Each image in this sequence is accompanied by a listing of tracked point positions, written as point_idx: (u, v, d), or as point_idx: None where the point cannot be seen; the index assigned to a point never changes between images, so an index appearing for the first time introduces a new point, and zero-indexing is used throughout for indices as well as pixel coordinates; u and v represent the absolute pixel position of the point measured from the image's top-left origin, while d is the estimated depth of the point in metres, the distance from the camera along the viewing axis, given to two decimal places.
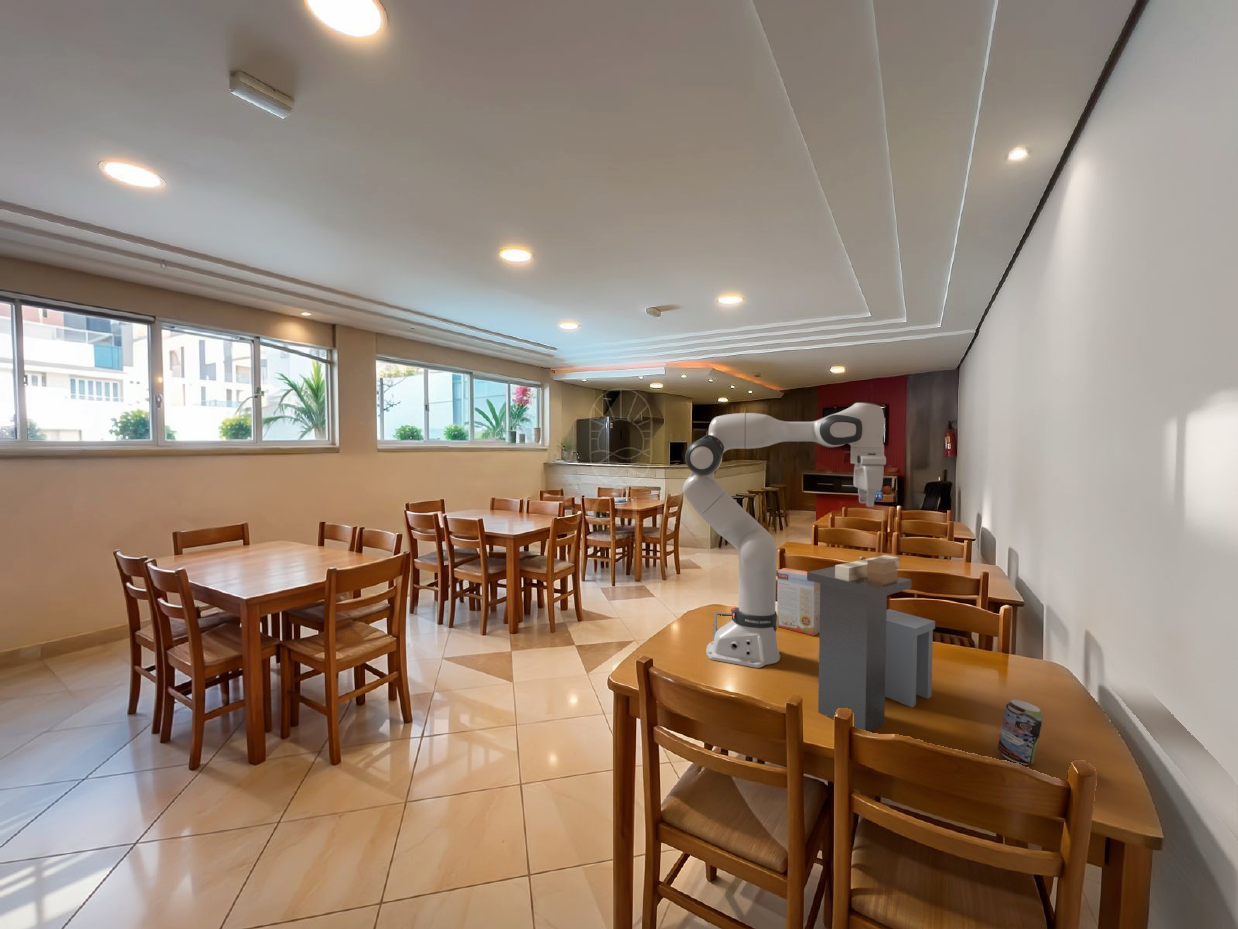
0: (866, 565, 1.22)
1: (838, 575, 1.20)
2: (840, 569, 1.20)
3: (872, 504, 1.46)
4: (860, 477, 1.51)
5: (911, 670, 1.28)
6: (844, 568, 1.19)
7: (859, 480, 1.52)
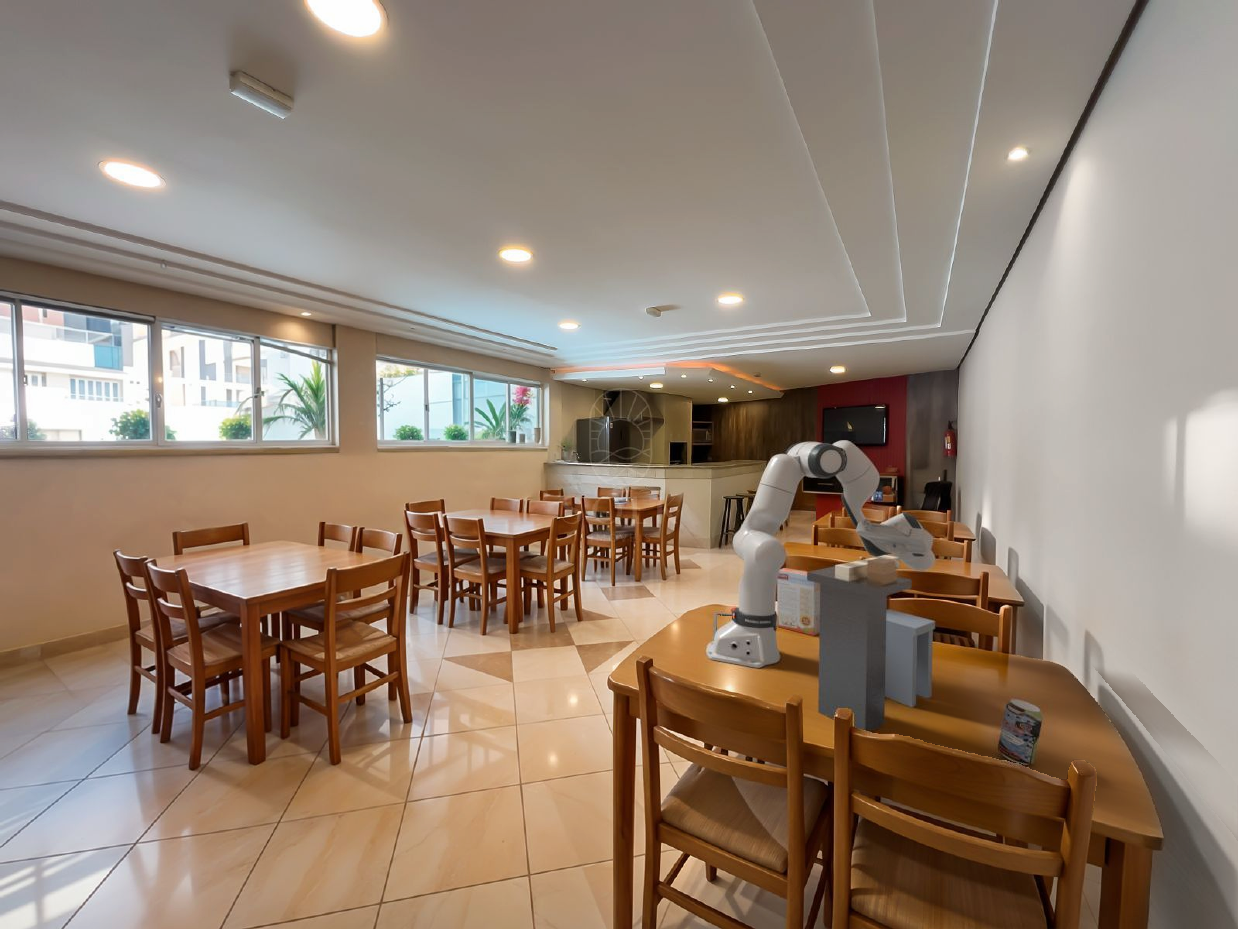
0: (866, 565, 1.22)
1: (838, 575, 1.20)
2: (840, 569, 1.20)
3: (899, 528, 1.45)
4: None
5: (911, 670, 1.28)
6: (844, 568, 1.19)
7: None
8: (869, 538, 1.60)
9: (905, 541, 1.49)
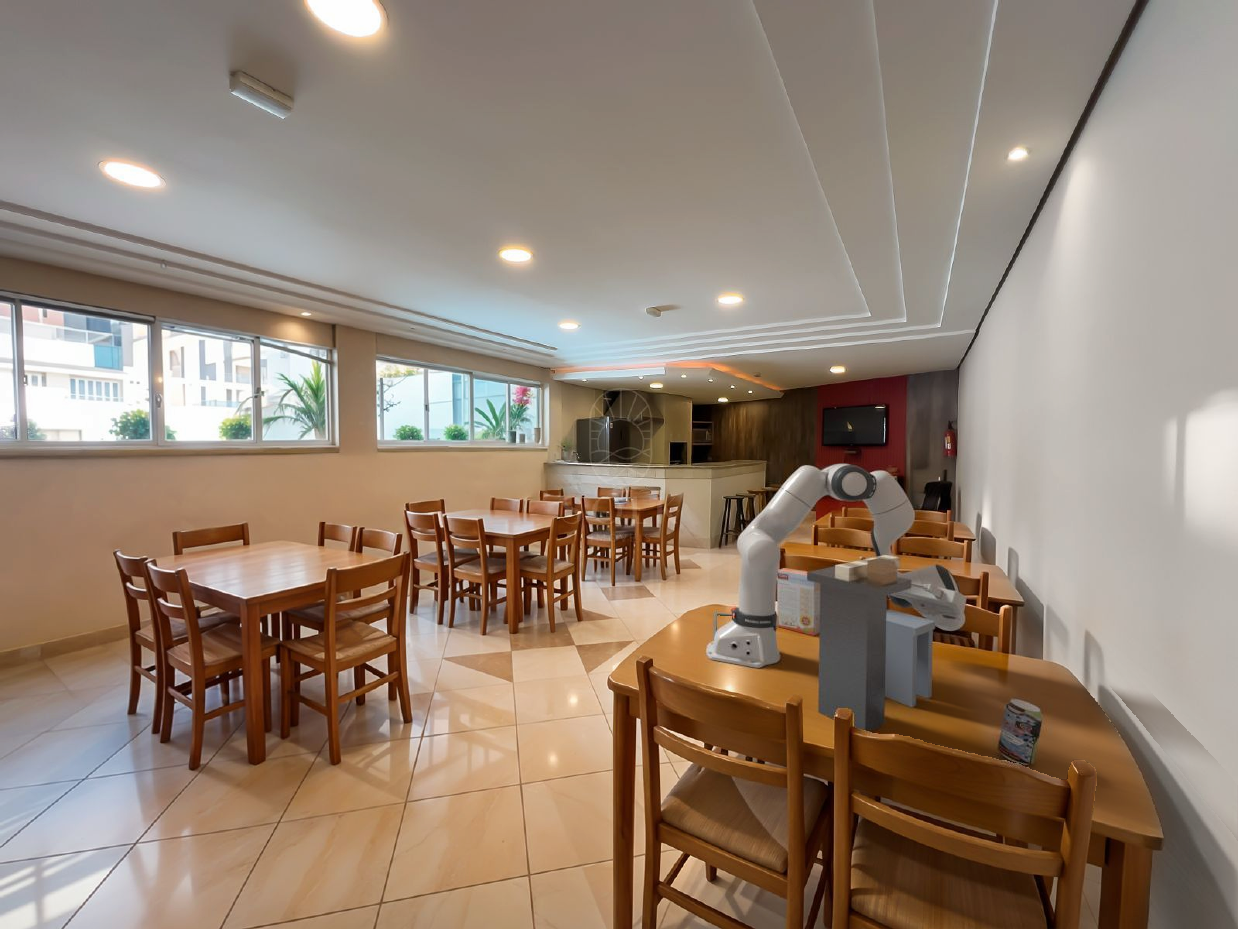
0: (866, 565, 1.22)
1: (838, 575, 1.20)
2: (840, 569, 1.20)
3: (930, 589, 1.32)
4: None
5: (911, 670, 1.28)
6: (844, 568, 1.19)
7: None
8: (894, 594, 1.47)
9: (935, 602, 1.36)
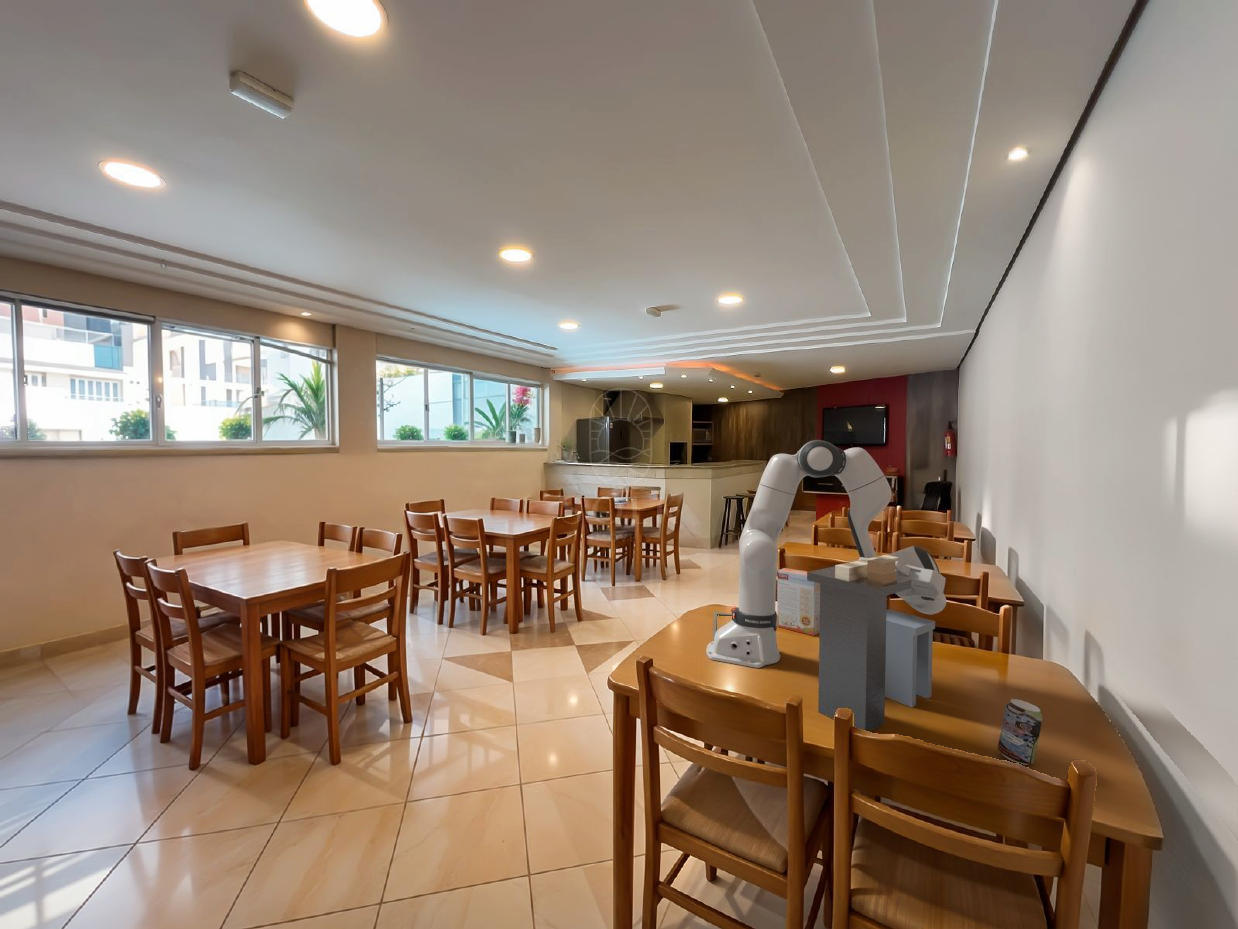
0: (866, 565, 1.22)
1: (838, 575, 1.20)
2: (840, 569, 1.20)
3: (897, 567, 1.27)
4: None
5: (911, 670, 1.28)
6: (844, 568, 1.19)
7: None
8: None
9: (913, 583, 1.29)
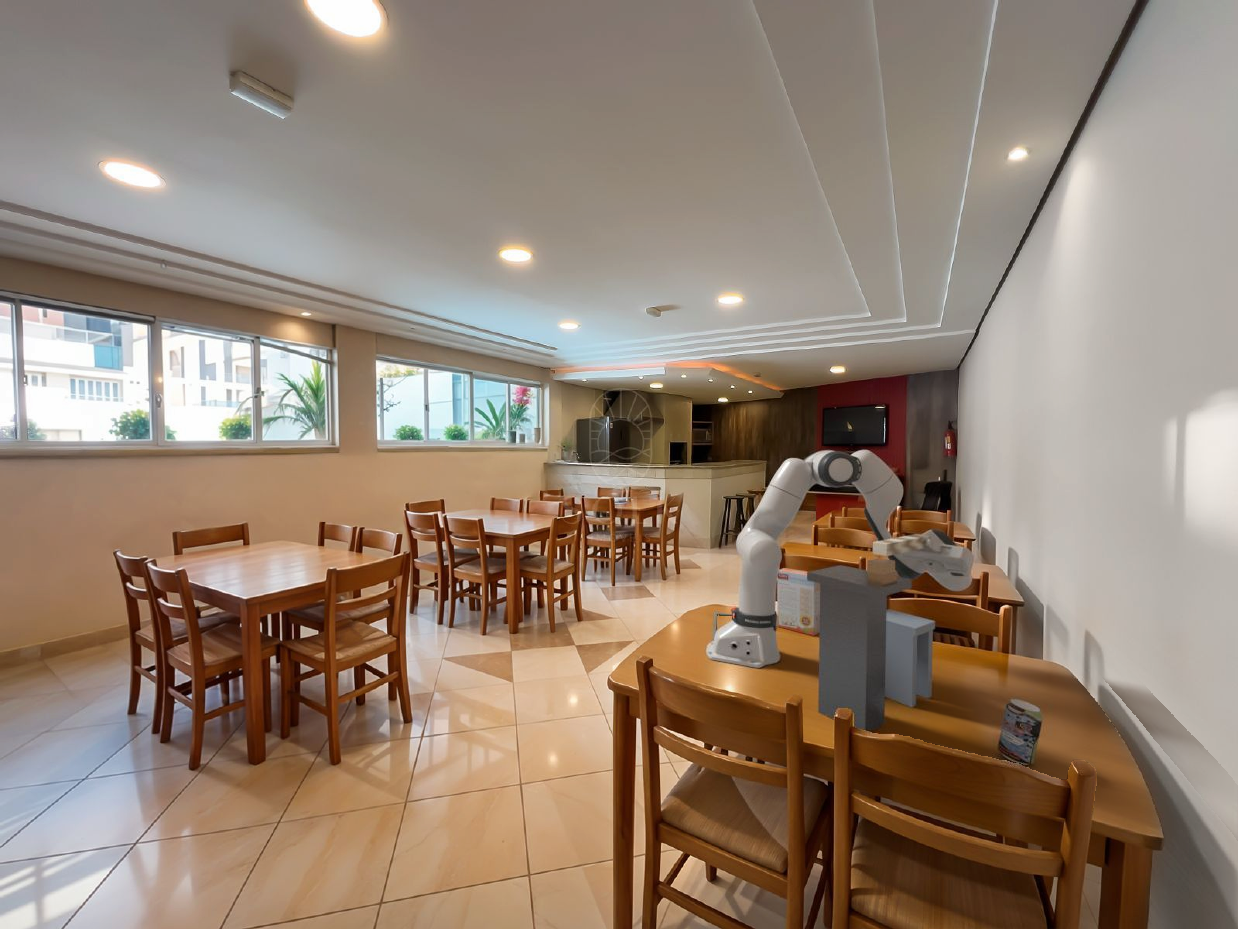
0: (901, 542, 1.31)
1: (876, 551, 1.29)
2: (878, 545, 1.28)
3: (929, 544, 1.36)
4: None
5: (911, 670, 1.28)
6: (882, 544, 1.28)
7: None
8: (902, 555, 1.49)
9: (944, 559, 1.38)
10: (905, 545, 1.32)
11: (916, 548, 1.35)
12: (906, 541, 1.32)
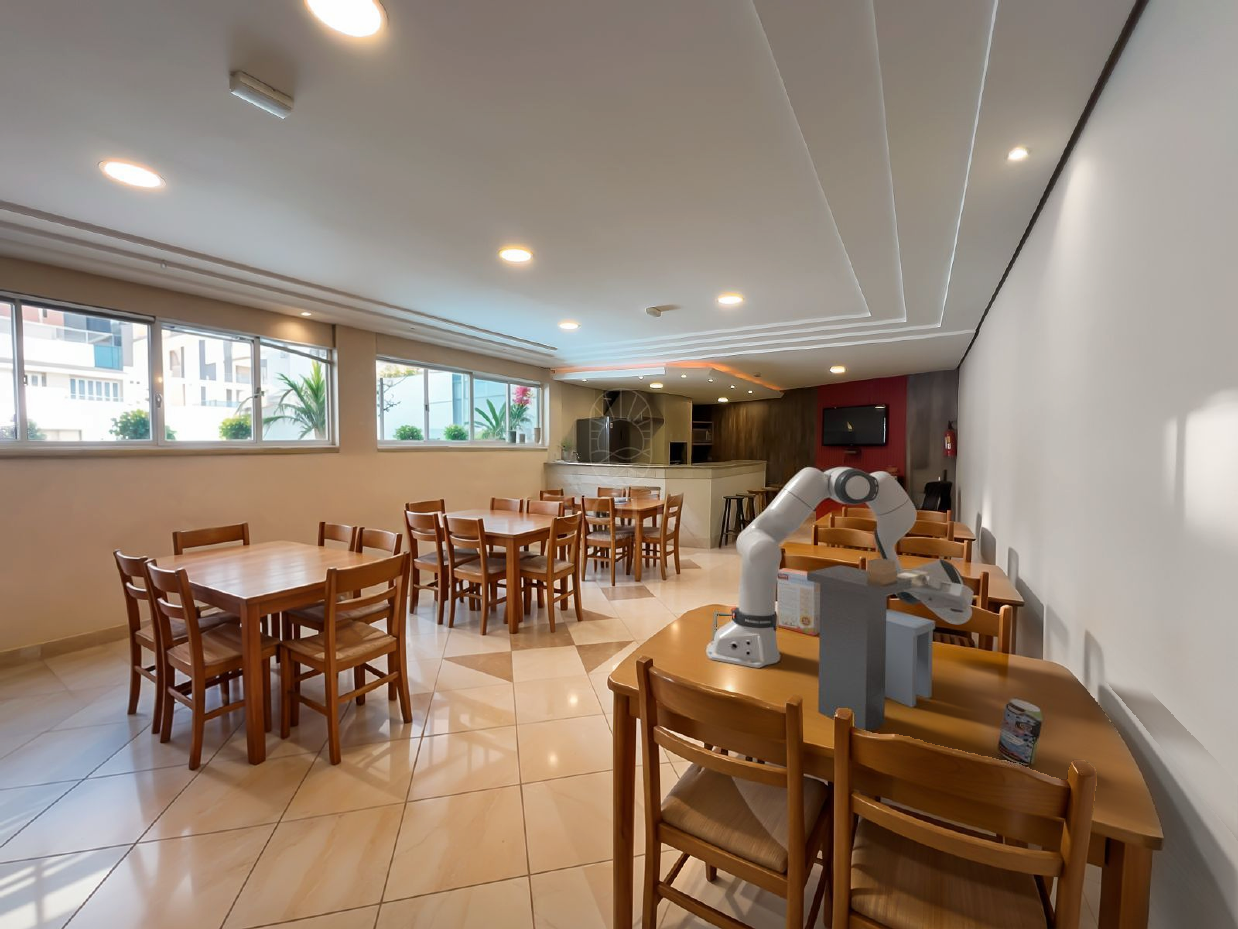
0: None
1: None
2: None
3: (929, 581, 1.36)
4: None
5: (911, 670, 1.28)
6: None
7: None
8: None
9: (943, 596, 1.38)
10: None
11: (916, 585, 1.35)
12: None
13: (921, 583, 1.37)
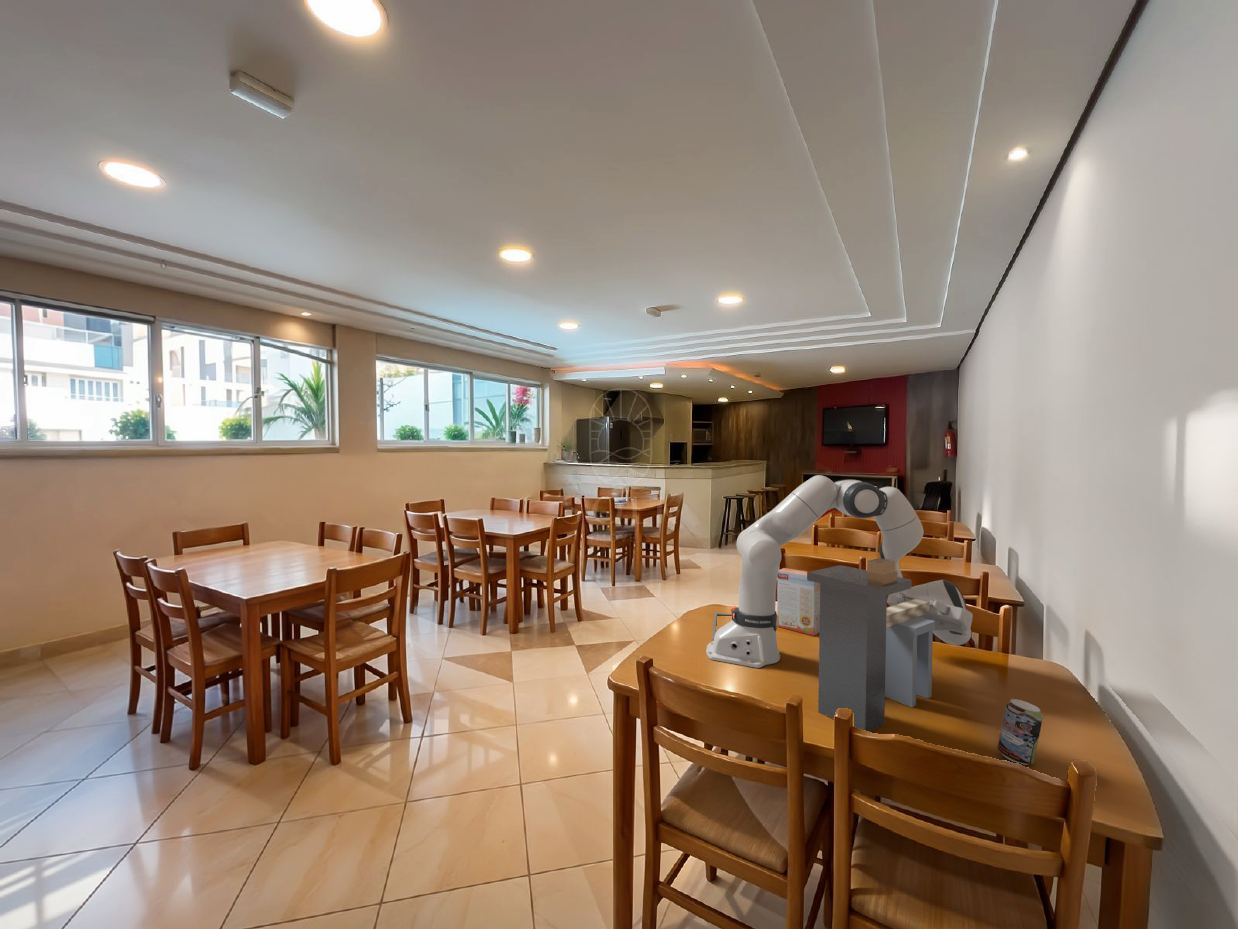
0: (900, 612, 1.31)
1: None
2: None
3: (935, 606, 1.35)
4: None
5: (911, 670, 1.28)
6: None
7: None
8: None
9: (942, 619, 1.38)
10: (905, 615, 1.33)
11: (915, 616, 1.36)
12: (905, 610, 1.33)
13: (921, 613, 1.37)
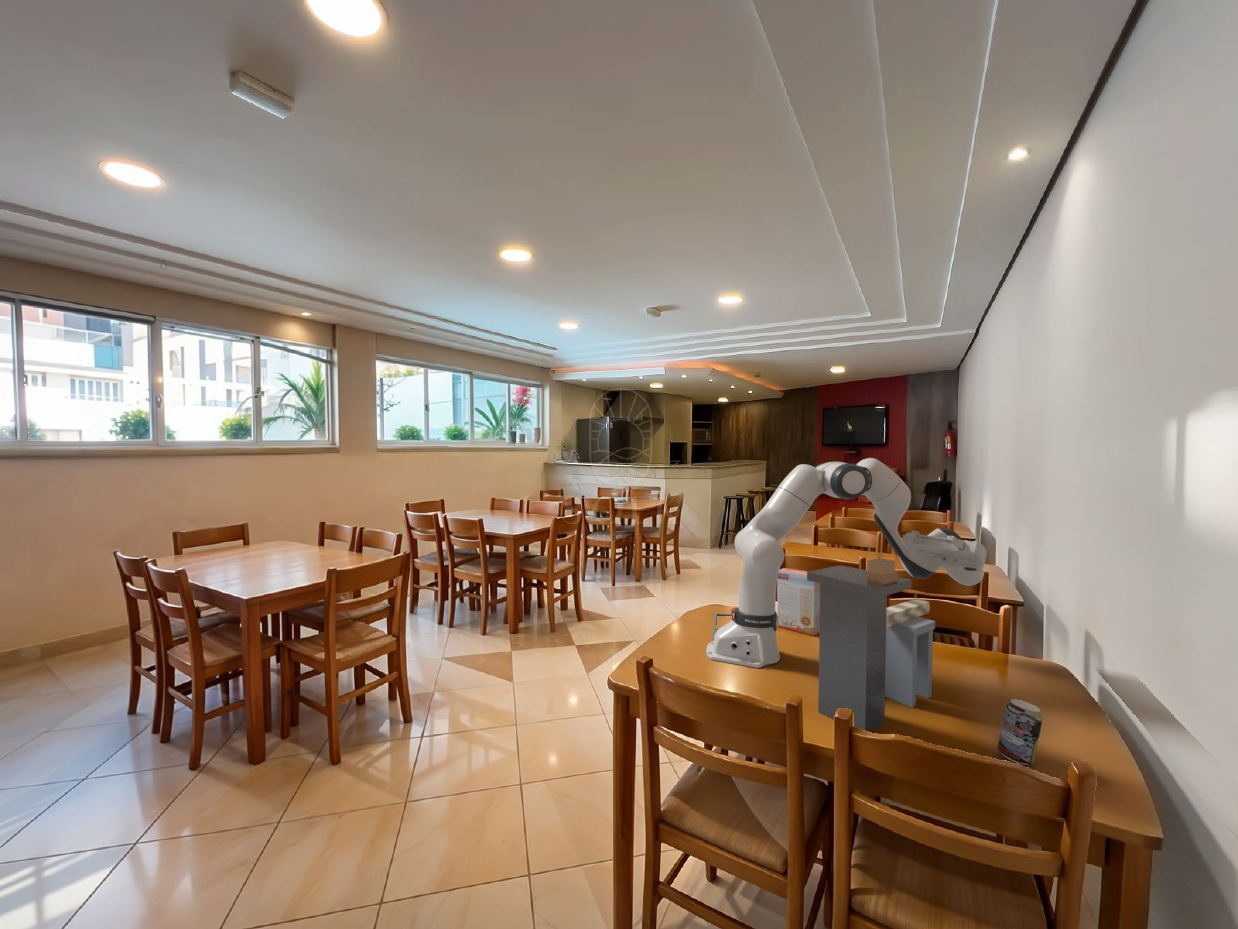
0: (900, 612, 1.31)
1: None
2: None
3: (953, 541, 1.39)
4: None
5: (911, 670, 1.28)
6: None
7: None
8: (916, 550, 1.53)
9: (957, 554, 1.42)
10: (905, 615, 1.33)
11: (915, 616, 1.36)
12: (905, 610, 1.33)
13: (921, 613, 1.37)
